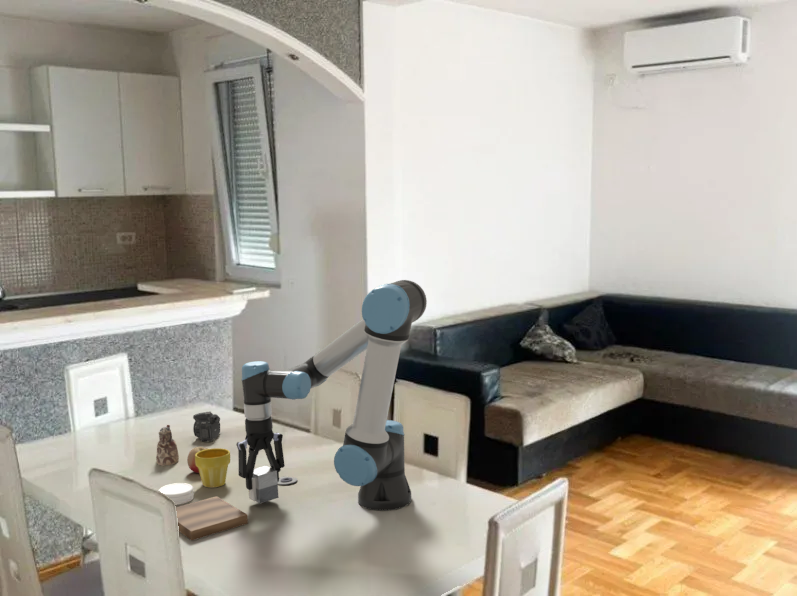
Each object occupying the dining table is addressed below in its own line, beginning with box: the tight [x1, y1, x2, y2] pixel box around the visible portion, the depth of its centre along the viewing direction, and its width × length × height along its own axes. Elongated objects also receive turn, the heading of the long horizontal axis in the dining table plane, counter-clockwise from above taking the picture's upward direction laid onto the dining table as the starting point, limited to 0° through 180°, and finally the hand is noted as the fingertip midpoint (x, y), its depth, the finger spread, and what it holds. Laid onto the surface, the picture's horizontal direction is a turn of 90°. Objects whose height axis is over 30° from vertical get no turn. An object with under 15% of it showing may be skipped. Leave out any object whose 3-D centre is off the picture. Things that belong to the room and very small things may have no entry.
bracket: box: [278, 475, 298, 486], centre depth 247 cm, size 7×10×4 cm, turn 57°
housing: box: [248, 465, 279, 504], centre depth 228 cm, size 6×6×8 cm
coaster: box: [157, 482, 195, 506], centre depth 233 cm, size 10×10×4 cm
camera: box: [192, 411, 221, 442], centre depth 293 cm, size 13×10×10 cm
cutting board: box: [175, 495, 249, 542], centre depth 217 cm, size 18×16×2 cm
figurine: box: [155, 424, 180, 466], centre depth 267 cm, size 7×7×12 cm
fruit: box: [186, 446, 209, 474], centre depth 256 cm, size 8×8×8 cm
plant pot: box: [195, 447, 231, 489], centre depth 245 cm, size 10×10×10 cm
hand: (263, 496), depth 228 cm, fingers closed on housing, 6 cm apart
